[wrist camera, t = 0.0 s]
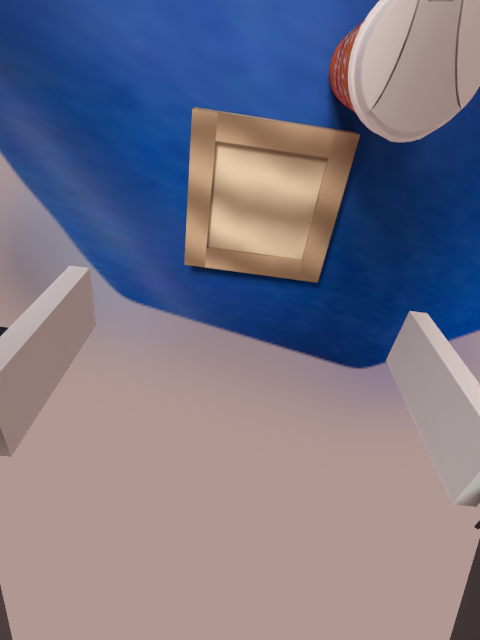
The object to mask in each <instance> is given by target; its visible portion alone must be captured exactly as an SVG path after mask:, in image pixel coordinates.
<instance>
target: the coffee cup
mask: <svg viewBox="0 0 480 640" xmlns="http://www.w3.org/2000/svg"><path fill="white" fill-rule="evenodd" d="M329 80H330V85H331V88H332V91H333V93H334V94H335V96H336V97H337V99H338V100H339V101H340V102H342V103H343V104H344V105H345V106H347V107H348V108H349V109H351V110H352V111H354V112H355V113H356V114H357V115H358V117H359V119H360V120H361V121H362V122H363V124H364V125H365V126H366V127H367V128H369V129H370V130H371V131H373V132H374V133H376V134H378V135H380V136H382V137H384V138H385V139H387V140H389V141H391V142H411V141H415V140H419V139H421V138H423V137H425V136H426V135H428V134H429V133H431V132H433V131H434V130H436V129H438V128H440V127H441V126H443V125H444V124H445V123H447V122H448V121H449V120H451V119H452V118H453V117H454V116H455V115H456V114H457V113H458V112H459V111H461V110H462V109H463V108H464V107H465V106H466V104H467V103H468V102H469V101H470V100H471V98H472V97H473V96H474V94H475V93H476V91H477V90H478V88H479V87H480V0H379V1H378V3H377V4H376V5H375V6H374V8H373V9H372V10H371V11H370V13H369V14H368V16H367V17H366V19H365V20H364V21H363V22H361V23H360V24H359V25H358V26H357V27H356V28H354V29H353V30H352V31H351V32H350V33H349V34H348V35H347V36H346V37H345V38H344V39H343V40H342V41H341V42H340V44H339V45H338V47H337V48H336V50H335V52H334V54H333V56H332V59H331V63H330V68H329Z"/></svg>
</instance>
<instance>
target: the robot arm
mask: <svg viewBox="0 0 480 640" xmlns="http://www.w3.org/2000/svg"><path fill="white" fill-rule="evenodd" d="M95 325H96V322H95V313H94V304H93V295H92V286H91V278H90V269H89V268H83V267H76V266H69V267H68V268H67V269H66V270H65V271H64V272H63V274H61V275H60V277H58V278H57V279H56V280H55V282H53V284H51V286H50V287H49V288H48V289H47V290H46V291H45V292H44V293H43V294H42V295H41V296H40V297H39V298H38V299H37V300H36V301H35V302H34V303H33V304H32V305H31V306H30V307H29V308H28V309H27V310H26V311H25V312H24V313H23V314H22V315H21V316H20V317H19V318H18V319H17V320H16V321H15V322H14V323H13V324H12V325H11V326H10V327H9V328H6V327H0V455H1V456H12V455H13V453H14V451H15V450H16V448H17V446H18V445H19V444H20V442H21V440H22V439H23V437H24V436H25V434H26V433H27V431H28V430H29V428H30V426H31V425H32V423H33V422H34V420H35V419H36V417H37V416H38V414H39V412H40V411H41V409H42V408H43V406H44V405H45V403H46V402H47V400H48V398H49V397H50V395H51V393H52V392H53V391H54V389H55V388H56V386H57V384H58V383H59V381H60V380H61V378H62V377H63V375H64V373H65V372H66V370H67V369H68V367H69V366H70V364H71V363H72V361H73V359H74V358H75V356H76V355H77V353H78V352H79V350H80V349H81V347H82V345H83V344H84V342H85V341H86V339H87V338H88V336H89V335H90V333H91V331H92V330H93V328H94V327H95ZM386 363H387V365H388V367H389V369H390V371H391V374H392V376H393V378H394V380H395V382H396V385H397V387H398V389H399V391H400V393H401V395H402V397H403V399H404V402H405V404H406V406H407V408H408V410H409V413H410V415H411V417H412V419H413V421H414V423H415V425H416V428H417V430H418V432H419V434H420V436H421V438H422V440H423V443H424V445H425V447H426V449H427V451H428V453H429V456H430V458H431V460H432V462H433V464H434V466H435V468H436V471H437V473H438V475H439V477H440V479H441V481H442V484H443V486H444V488H445V490H446V492H447V494H448V497H449V499H450V501H451V503H452V504H457V505H466V506H475V507H476V506H477V505H478V504H479V503H480V384H479V383H478V381H477V380H476V379H475V377H474V376H473V375H472V373H471V372H470V371H469V369H468V368H467V367H466V365H465V364H464V363H463V361H462V360H461V358H460V357H459V356H458V354H457V353H456V352H455V351H454V349H453V347H452V346H451V345H450V343H449V342H448V341H447V339H446V338H445V337H444V335H443V334H442V333H441V331H440V330H439V328H438V327H437V326H436V324H435V323H434V322H433V320H432V319H431V318H430V316H429V315H428V313H421V312H414V311H409V313H408V315H407V317H406V319H405V321H404V324H403V326H402V328H401V330H400V332H399V334H398V336H397V338H396V340H395V342H394V345H393V347H392V349H391V351H390V353H389V355H388V357H387V359H386ZM475 528H477V529H479V528H480V521H479V522H478V523H477V524H476V525H475ZM0 640H12V635H11V631H10V627H9V622H8V618H7V613H6V609H5V604H4V600H3V595H2V591H1V586H0ZM450 640H480V540H479V543H478V547H477V550H476V553H475V557H474V560H473V563H472V567H471V570H470V573H469V577H468V580H467V584H466V587H465V590H464V594H463V597H462V601H461V604H460V607H459V611H458V614H457V617H456V621H455V624H454V628H453V631H452V634H451V637H450Z"/></svg>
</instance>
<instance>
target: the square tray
mask: <svg viewBox="0 0 480 640" xmlns="http://www.w3.org/2000/svg"><path fill="white" fill-rule="evenodd" d="M359 137H360V134H358V133H356V132H351V131H345V130H338V129H332V128H326V127H319V126H313V125H306V124H300V123H294V122H287V121H281V120H274V119H268V118H262V117H255V116H249V115H242V114H236V113H230V112H223V111H217V110H210V109H204V108H198V107H195V108H193V109H192V125H191V145H190V164H189V184H188V204H187V224H186V243H185V263H184V265H191V266H198V267H206V268H213V269H220V270H228V271H235V272H243V273H250V274H257V275H265V276H272V277H280V278H287V279H294V280H302V281H309V282H316V283H318V280H319V276H320V273H321V269H322V266H323V262H324V259H325V255H326V252H327V248H328V245H329V241H330V238H331V234H332V231H333V228H334V224H335V221H336V217H337V214H338V210H339V207H340V203H341V200H342V196H343V193H344V189H345V186H346V183H347V179H348V176H349V172H350V169H351V165H352V162H353V158H354V155H355V151H356V148H357V144H358V141H359Z"/></svg>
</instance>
